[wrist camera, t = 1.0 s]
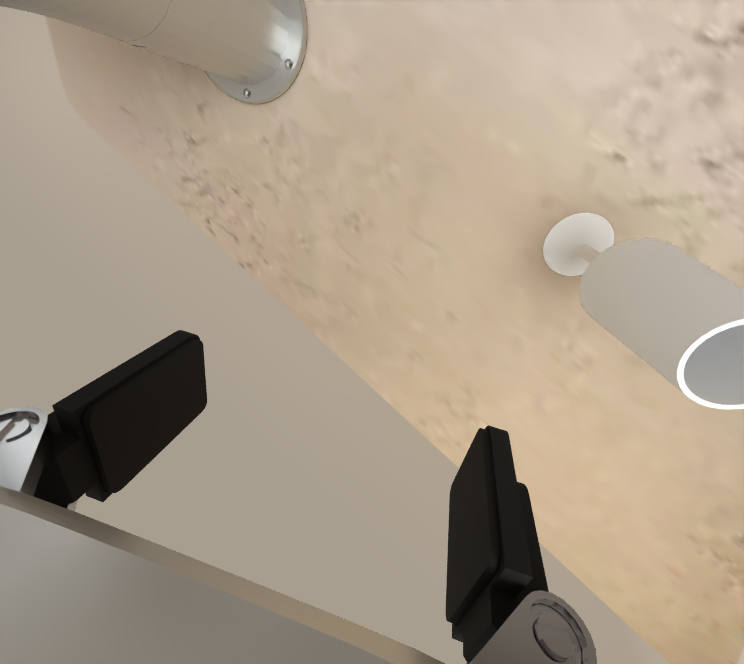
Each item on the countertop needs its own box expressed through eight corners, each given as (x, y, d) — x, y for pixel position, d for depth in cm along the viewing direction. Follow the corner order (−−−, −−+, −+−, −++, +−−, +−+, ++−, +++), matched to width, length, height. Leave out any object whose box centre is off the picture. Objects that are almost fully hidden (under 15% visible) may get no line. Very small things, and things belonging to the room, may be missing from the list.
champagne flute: (596, 282, 36) (774, 442, 16) (533, 269, 37) (622, 404, 17) (627, 219, 33) (905, 315, 12) (557, 206, 34) (707, 276, 13)
